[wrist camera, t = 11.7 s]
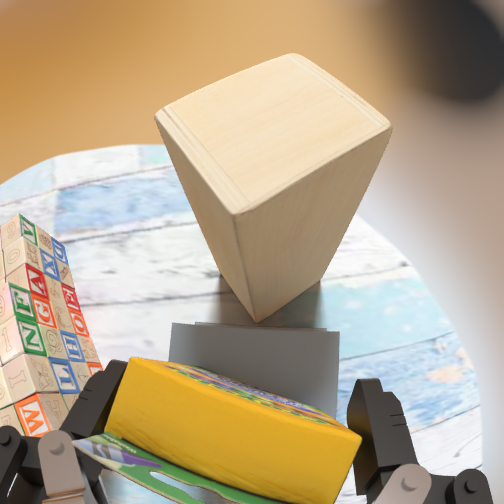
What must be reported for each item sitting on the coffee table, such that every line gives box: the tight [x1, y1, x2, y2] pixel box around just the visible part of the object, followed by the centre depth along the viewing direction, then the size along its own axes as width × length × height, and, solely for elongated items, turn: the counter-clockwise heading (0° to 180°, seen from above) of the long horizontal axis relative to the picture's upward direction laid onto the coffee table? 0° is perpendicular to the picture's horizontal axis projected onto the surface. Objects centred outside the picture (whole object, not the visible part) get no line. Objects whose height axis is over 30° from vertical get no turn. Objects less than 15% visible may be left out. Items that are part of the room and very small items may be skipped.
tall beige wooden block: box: [155, 53, 392, 323], centre depth 21 cm, size 8×7×21 cm
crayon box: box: [71, 357, 362, 504], centre depth 11 cm, size 7×3×12 cm, turn 70°
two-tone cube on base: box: [168, 322, 340, 420], centre depth 22 cm, size 12×12×11 cm
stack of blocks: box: [0, 214, 103, 437], centre depth 24 cm, size 21×6×12 cm, turn 28°
